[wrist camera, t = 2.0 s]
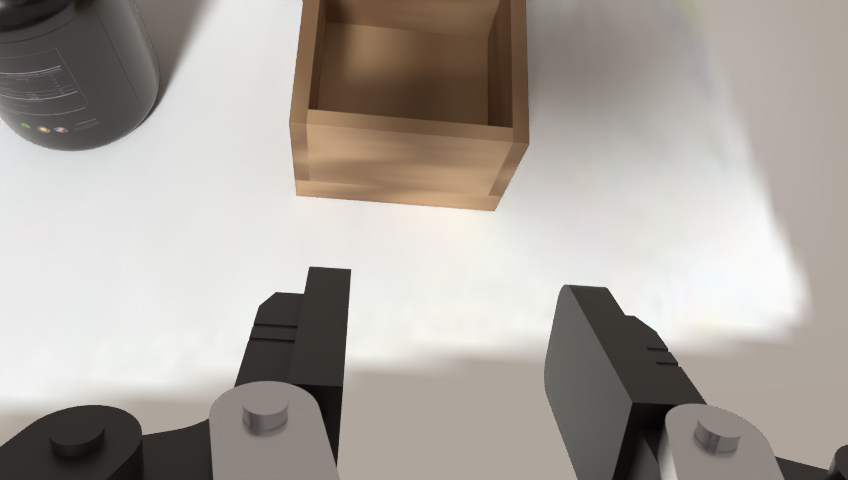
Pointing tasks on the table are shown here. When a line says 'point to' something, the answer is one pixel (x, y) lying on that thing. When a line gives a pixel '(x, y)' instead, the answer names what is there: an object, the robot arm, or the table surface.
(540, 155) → the table surface
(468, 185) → the walnut holder
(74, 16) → the supplement bottle
